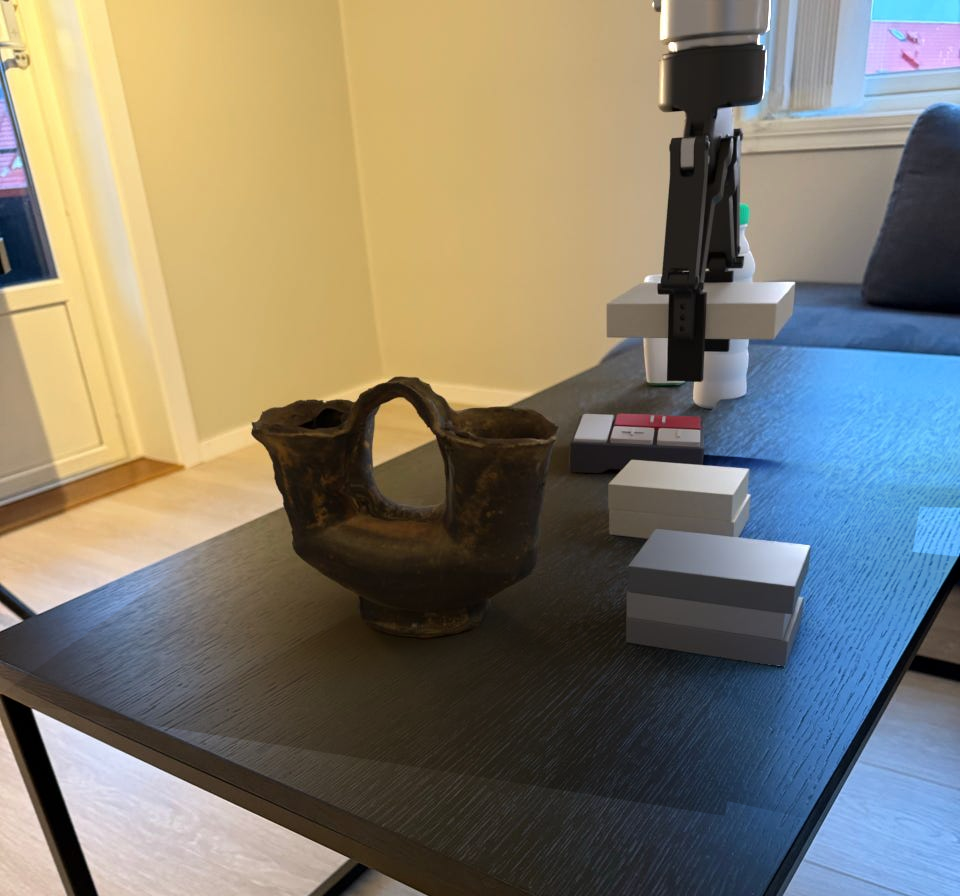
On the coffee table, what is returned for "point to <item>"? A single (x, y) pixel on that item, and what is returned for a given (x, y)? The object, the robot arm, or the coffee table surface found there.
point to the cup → (656, 352)
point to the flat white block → (727, 311)
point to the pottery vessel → (413, 529)
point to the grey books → (717, 595)
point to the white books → (678, 499)
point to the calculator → (634, 441)
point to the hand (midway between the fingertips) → (699, 364)
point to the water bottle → (730, 367)
